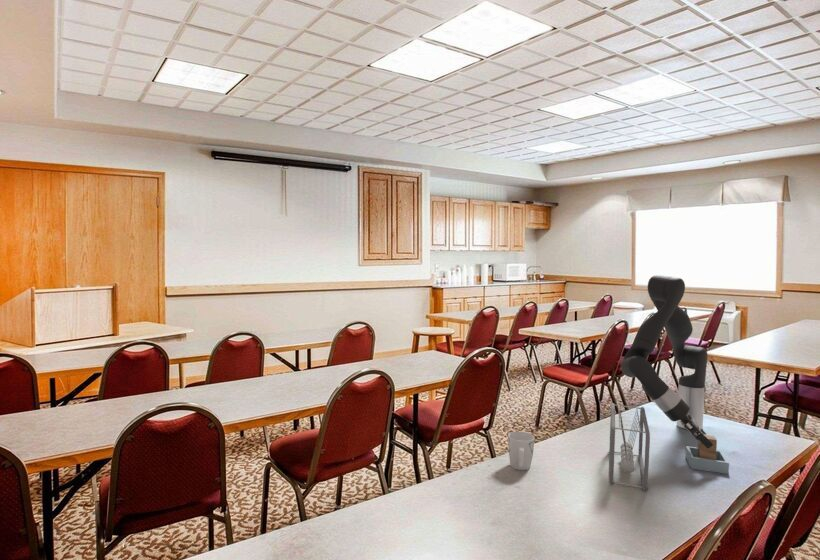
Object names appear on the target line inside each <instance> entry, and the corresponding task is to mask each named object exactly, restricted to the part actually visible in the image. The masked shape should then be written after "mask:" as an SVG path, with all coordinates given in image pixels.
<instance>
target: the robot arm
mask: <svg viewBox="0 0 820 560" xmlns="http://www.w3.org/2000/svg"><path fill="white" fill-rule="evenodd" d="M685 290H686V284H685V281H684V280H683V279H682V278H681V277H676V276H668V275H661V274H659V275H658V274H656V275H655V274H654V275H653V276H651V277H650V278H649V280H648V282H647V292H648V296H649V298H650V300H651V301H652V303H653V305H654V307H655V309H656V310H657V311H656V312H655V313H653V315H651V316H650V317H649V318H647V319H646V320H645V321H644V322H643V323H641V325H640V326H639V328H638V330H637V332H636V335H635V337H634V339H633V342H632V344H631V346H630V347H629V349H627V352H626V353H625V355H624V357H623V359H622V361H621V364H620V369H621V372H622V373H623V375H624V376H626V377H628V378H636V379H637V380H638V381H639V382H640V384H641V389H642V391H643V392H644V393H645V395H647V396H648V397H649V398H650V399H651V400H652V401H653V403H654V404H655V405H656V406H657V407H658V409H660V411H662V413H663V414H664V415H665V416H666V417H667V418H668V419H669V420H670V421H672V422H676V426H677V427H679V428H680V429H683V430H687V431H688V432H689V433H690V434H691V435H692V436H693V437H694V438H695V440H697V441H698V440H700V441H701V442H702V443H703V444H704V446H705V447H706V448H710V447H711V446H713V444H712V443H711V442H710V441H709V440H708V438H707V437H706V436H705V435H704V434H706V435H708V434H707V433H706V432H705V431H704V430H703V428H704V410H705V408H704V407H705V389H706V388H705V386H706V385H705V384H706V378H707V377H706V376H707V367H708V366H707V365H708V358H709V357H708V352H707V349H706V348H704V347H700V346H695V345H689V344H688V345H686V344H685V342H686V341H687V340H688V339H689V338H690V336H692V333H693V331H694V330H693V325H692V321H691V319H690V317H689V315H688V313H687V312H686V310H684V309H683V308H681V307H680V306H679V304H680V303H681V301H682V299H683V297H684V294H685ZM664 329H665V332H666V334H667V336H668V339H669V342H670V344H671V348H672V351H673V355H674V359H675V362H676V364H677V365H678V366H679V367H681V368H685V369H690V370H694V372H693V373H692V374H688V375H682V376H680V377H679V378H678V389H677V391H678V394H677V392H675V391H674V390H673V389H672V388H671V387H670V386H669V385H667V383H666V382H665V381H664V380H663V379H662V378H661V377H660V376H659V374H658V373H657V371H656V370H655V369H654V367H653V365H652V364H651V363H650V362H649V361H648V360H647V358H649V355H651V354H652V353H653V352H654V350H655V349H656V346H657V343H658V341H659V339H660V336H661V334H662V332H663V330H664Z"/></svg>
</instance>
